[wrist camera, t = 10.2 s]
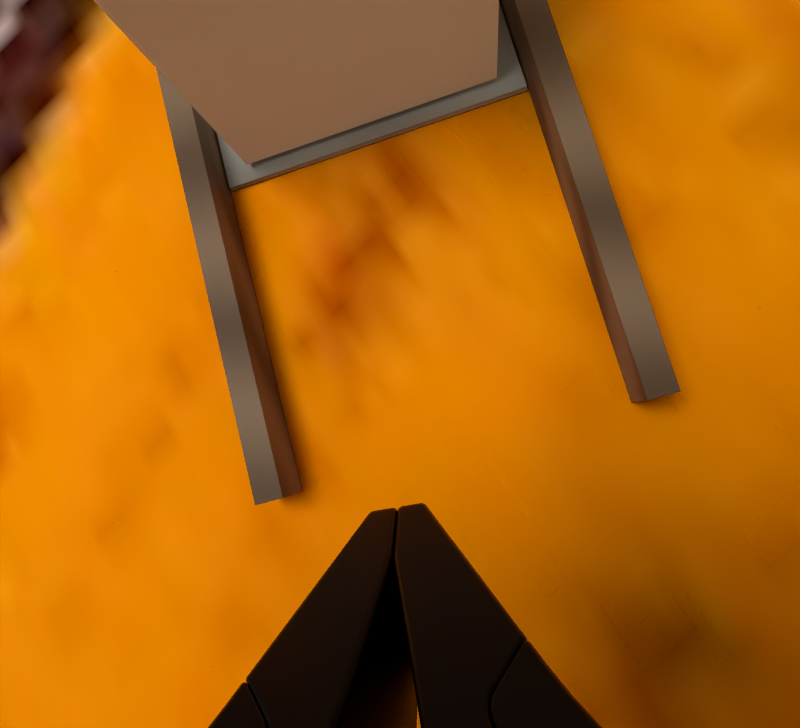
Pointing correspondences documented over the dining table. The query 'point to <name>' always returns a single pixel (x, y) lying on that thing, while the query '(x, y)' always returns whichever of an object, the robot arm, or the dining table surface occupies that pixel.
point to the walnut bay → (223, 169)
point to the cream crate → (309, 60)
